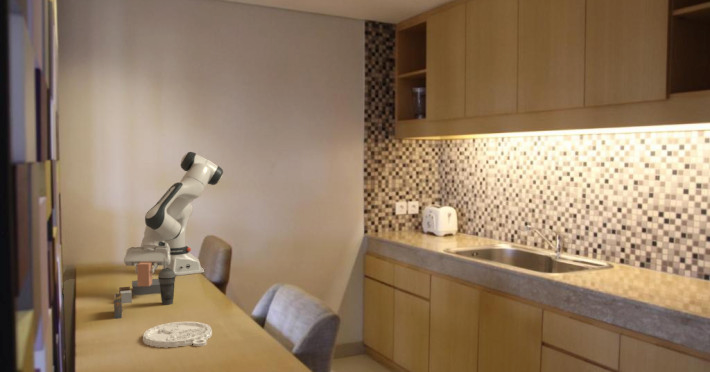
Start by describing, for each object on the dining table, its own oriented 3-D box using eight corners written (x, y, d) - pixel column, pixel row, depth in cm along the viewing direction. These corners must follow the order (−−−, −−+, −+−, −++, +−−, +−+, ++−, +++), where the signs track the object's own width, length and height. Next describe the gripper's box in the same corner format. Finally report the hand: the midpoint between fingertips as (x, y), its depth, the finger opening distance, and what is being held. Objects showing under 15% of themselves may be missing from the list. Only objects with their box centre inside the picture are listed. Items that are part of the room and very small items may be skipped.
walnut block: (130, 296, 258) (129, 286, 258) (130, 298, 254) (130, 288, 254) (119, 297, 256) (119, 287, 256) (119, 299, 252) (119, 289, 252)
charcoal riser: (161, 286, 276) (160, 278, 276) (162, 292, 264) (162, 284, 264) (132, 289, 271) (132, 280, 271) (133, 295, 259) (132, 286, 259)
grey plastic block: (131, 300, 251) (131, 290, 251) (131, 302, 247) (131, 292, 247) (120, 301, 250) (120, 291, 249) (120, 303, 246) (120, 293, 245)
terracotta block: (141, 283, 259) (140, 262, 258) (152, 283, 259) (152, 262, 259) (137, 286, 254) (137, 264, 253) (148, 286, 254) (148, 264, 254)
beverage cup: (170, 306, 241) (169, 259, 240) (155, 305, 243) (154, 259, 242) (179, 301, 248) (178, 256, 247) (164, 300, 250) (163, 255, 249)
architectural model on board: (122, 319, 224) (122, 294, 224) (114, 319, 223) (113, 295, 223) (123, 311, 235) (122, 288, 234) (115, 312, 234) (114, 288, 233)
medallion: (187, 323, 218) (187, 317, 218) (231, 338, 201) (231, 331, 201) (129, 339, 200) (129, 332, 200) (173, 356, 183) (173, 349, 183)
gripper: (126, 243, 262) (119, 268, 253) (171, 243, 263) (165, 268, 254) (129, 251, 266) (122, 276, 257) (173, 251, 268) (168, 276, 259)
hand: (144, 272), depth 256 cm, fingers closed on terracotta block, 5 cm apart
